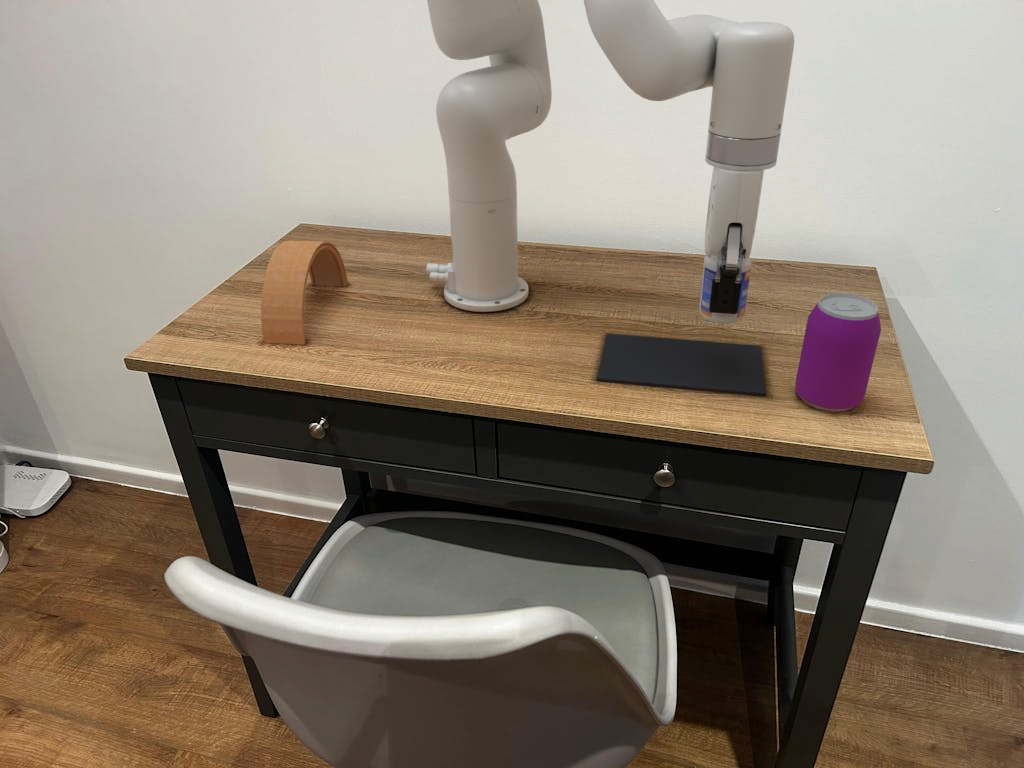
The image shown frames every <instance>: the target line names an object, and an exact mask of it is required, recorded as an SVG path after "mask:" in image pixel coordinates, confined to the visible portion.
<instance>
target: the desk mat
mask: <svg viewBox="0 0 1024 768" xmlns="http://www.w3.org/2000/svg"><path fill="white" fill-rule="evenodd" d="M602 349H603V350H602V354H601V356H600V357H601V358H600V362H599V365H598V366H599V367H598V371H597V375H596V381H597V382H606V383H615V384H616V383H617V384H628V385H637V386H638V385H639V386H647V387H648V386H650V387H660V388H671V389H673V388H674V389H680V390H681V389H682V390H692V391H705V392H715V393H727V394H737V395H746V396H747V395H749V396H759V397H767V387H766V386H767V385H766V379H765V370H764V369H765V368H764V361H763V354H762V346H761V345H756V344H745V343H733V342H732V343H731V342H720V341H719V342H718V341H707V340H696V339H695V340H694V339H680V338H669V337H657V336H644V335H632V334H631V335H630V334H618V333H606V336H605V340H604V345H603V348H602Z"/></svg>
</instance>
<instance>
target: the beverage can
mask: <svg viewBox="0 0 1024 768" xmlns="http://www.w3.org/2000/svg"><path fill="white" fill-rule="evenodd" d="M881 332H882V326H881V321H880V313H879V306H878V305H877V304H876V302H874V301H872V299H869V298H867V297H865V296H862V295H858V294H854V293H849V292H847V293H846V292H833V293H827V294H825V295H822V296H821V297H820V298H818V301H817V302H816V303H815V306H814V307H813V308H812V310H811V311H810V313H809V315H808V316H807V319H806V326H805V331H804V334H803V335H804V336H803V340H802V346H801V351H800V356H799V362H798V367H797V370H796V371H797V372H796V378H795V387H794V388H795V389H794V390H795V392H796V394H797V395H798V397H800V398H801V400H802V401H804V403H806V404H807V405H809V406H810V407H812V408H815V409H818V410H821V411H824V412H825V411H826V412H832V413H834V412H836V413H839V412H840V413H841V412H845V411H849V410H851V409H854V408H856V407H858V406H859V405H861V403H862V402H863V400H864V398H865V397H866V392H867V389H868V384H869V380H870V376H871V372H872V368H873V364H874V360H875V357H876V352H877V349H878V344H879V340H880V337H881Z"/></svg>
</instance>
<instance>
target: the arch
mask: <svg viewBox="0 0 1024 768" xmlns="http://www.w3.org/2000/svg"><path fill="white" fill-rule="evenodd" d="M308 277H309V279H310V283H311V286H323V287H347V285H349V281H348V276H347V270H346V266H345V264H344V260H343V257H342V255H341V252H340V251H339V249H338V247H336V245H335V244H333V243H332V242H330V241H317V240H315V241H312V240H285V241H282V242H281V243H280V244H279V245H277V247H276V248H275V250H274V251H273V252H272V254H271V257H270V259H269V262H268V264H267V267H266V269H265V275H264V279H263V285H262V292H261V303H260V309H261V310H260V320H261V321H260V322H261V334H262V339H263V343H265V344H280V345H305V344H306V342H307V341H306V334H305V322H304V321H305V319H304V318H305V317H304V316H305V315H304V314H305V312H304V310H305V309H304V308H305V297H306V296H305V295H306V289H307V282H308Z"/></svg>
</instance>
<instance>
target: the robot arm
mask: <svg viewBox="0 0 1024 768" xmlns="http://www.w3.org/2000/svg"><path fill="white" fill-rule="evenodd" d="M426 2H427V7H428V12H429V18H430V24H431V29H432V32H433V36H434V39H435V43H436V45H437V47H438V49H439V50H440V51H441V52H442V53H443V54H444V56H446V57H448V58H450V59H452V60H457V61H469V60H474V59H481V58H485V57H488V59H489V64H490V66H486V67H483V68H478V69H474V70H470V71H466V72H463V73H460V74H458V75H457V76H455V77H453V78H451V79H450V80H449V81H448V82H447V83H446V84H445V85H444V86H443V87H442V89H441V90H440V92H439V94H438V97H437V100H436V105H435V106H436V107H435V115H436V122H437V127H438V130H439V134H440V139H441V142H442V146H443V147H442V148H443V152H444V158H445V164H446V165H445V166H446V175H447V188H448V189H447V190H448V201H449V203H448V204H449V206H448V207H449V218H450V219H449V223H450V239H451V240H450V241H451V255H452V256H451V257H452V262H448V263H447V264H440V263H431V262H428V263H427V264H426V269H425V270H426V271H425V272H426V273H425V274H426V276H428V277H429V281H430V282H435V283H436V282H437V283H440V282H442V283H445V285H444V287H443V297H444V300H445V301H446V302H447V303H448V304H449V305H451V306H452V307H455V308H457V309H460V310H463V311H469V312H476V313H492V312H501V311H505V310H508V309H512V308H514V307H516V306H517V307H518V306H519V305H521V304H522V303H523V302H524V301H525V300H527V298H528V297H529V288H530V287H529V285H528V283H527V281H526V280H524V278H522V277H520V276H519V253H518V252H519V249H518V248H519V247H518V242H519V240H518V187H517V184H518V183H517V182H518V181H517V173H516V168H515V165H514V162H513V159H512V158H511V156H510V153H509V151H508V148H507V143H506V142H507V140H510V139H512V138H515V137H517V136H520V135H523V134H526V133H528V132H531V131H533V130H535V129H537V128H539V127H540V126H541V125H542V124H543V123H544V122H545V120H546V119H547V118H548V116H549V113H550V110H551V106H552V99H553V98H552V97H553V95H552V80H551V73H550V64H549V57H548V50H547V49H548V48H547V42H546V34H545V27H544V26H545V25H544V18H543V14H542V9H541V8H542V7H541V5H540V2H539V0H426ZM583 4H584V8H585V13H586V18H587V21H588V25H589V27H590V29H591V32H592V35H593V36H594V39H595V40H596V42H597V44H598V46H599V47H600V49H601V50H602V52H603V53H604V55H605V56H606V58H607V60H608V61H609V63H610V64H611V66H612V67H613V69H614V70H615V72H616V73H617V75H618V76H619V77H620V78H621V80H622V82H624V84H625V85H626V86H627V87H628V88H629V89H630V90H631V91H632V92H633V93H635V95H638V96H639V97H641V98H643V99H645V100H648V101H651V102H665V101H668V100H672V99H675V98H677V97H680V96H682V95H685V94H688V93H691V92H695V91H699V90H703V89H706V88H711V87H712V91H711V99H710V111H709V120H708V130H707V137H706V147H705V158H704V162H705V163H706V164H708V165H709V166H711V167H712V168H713V169H712V174H711V180H710V186H709V187H710V188H709V197H708V205H707V215H706V222H705V230H704V231H705V232H704V253H705V256H706V255H707V256H708V257H711V255H714V256H717V265H716V275H715V279H713V280H712V289H711V297H710V305H709V311H710V312H712V313H724V314H736V313H737V312H738V305H739V298H740V291H741V284H742V281H740V280H741V271H742V262H743V257H744V259H746V258H748V257H750V256H751V253H752V248H753V243H754V237H755V233H756V226H757V221H758V214H759V208H760V201H761V196H762V188H763V180H764V173H765V170H769V169H772V168H774V167H776V166H777V163H778V162H777V161H778V155H779V148H780V142H781V135H782V126H783V122H784V121H783V120H784V114H785V108H786V101H787V96H788V89H789V81H790V74H791V68H792V64H793V63H792V62H793V57H794V56H793V55H794V49H795V35H794V32H793V30H792V29H791V28H790V27H789V26H787V25H785V24H783V23H778V22H771V21H742V22H741V21H735V20H730V19H726V18H722V17H718V16H714V15H709V14H692V15H685V16H683V17H682V16H681V17H675V18H672V19H667V18H666V17H665V16H664V14H663V12H662V11H661V9H660V8H659V6H658V5H657V3H656V2H655V0H583ZM727 233H728V236H727ZM722 249H727V254H722ZM739 250H740V252H739ZM722 260H726V263H725V265H723V266H722ZM721 267H722V268H721Z"/></svg>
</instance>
